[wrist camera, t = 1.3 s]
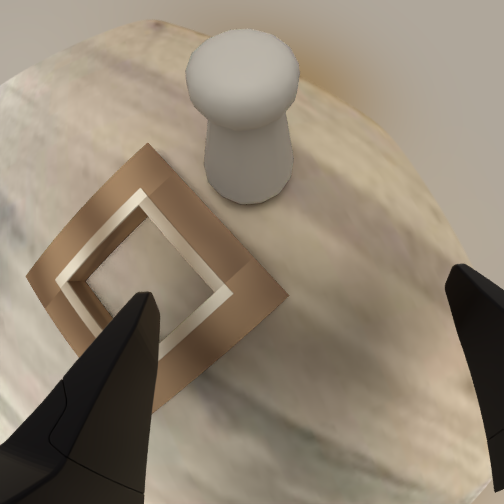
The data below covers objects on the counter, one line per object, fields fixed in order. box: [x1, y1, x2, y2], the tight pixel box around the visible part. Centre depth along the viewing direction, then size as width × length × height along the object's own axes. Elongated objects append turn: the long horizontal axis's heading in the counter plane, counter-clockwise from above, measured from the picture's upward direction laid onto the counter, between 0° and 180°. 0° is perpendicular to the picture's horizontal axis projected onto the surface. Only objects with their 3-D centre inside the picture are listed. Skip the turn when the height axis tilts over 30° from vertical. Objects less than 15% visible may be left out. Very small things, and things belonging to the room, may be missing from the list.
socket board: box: [26, 143, 289, 413], centre depth 20 cm, size 14×14×3 cm
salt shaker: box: [186, 29, 300, 204], centre depth 16 cm, size 6×6×13 cm
